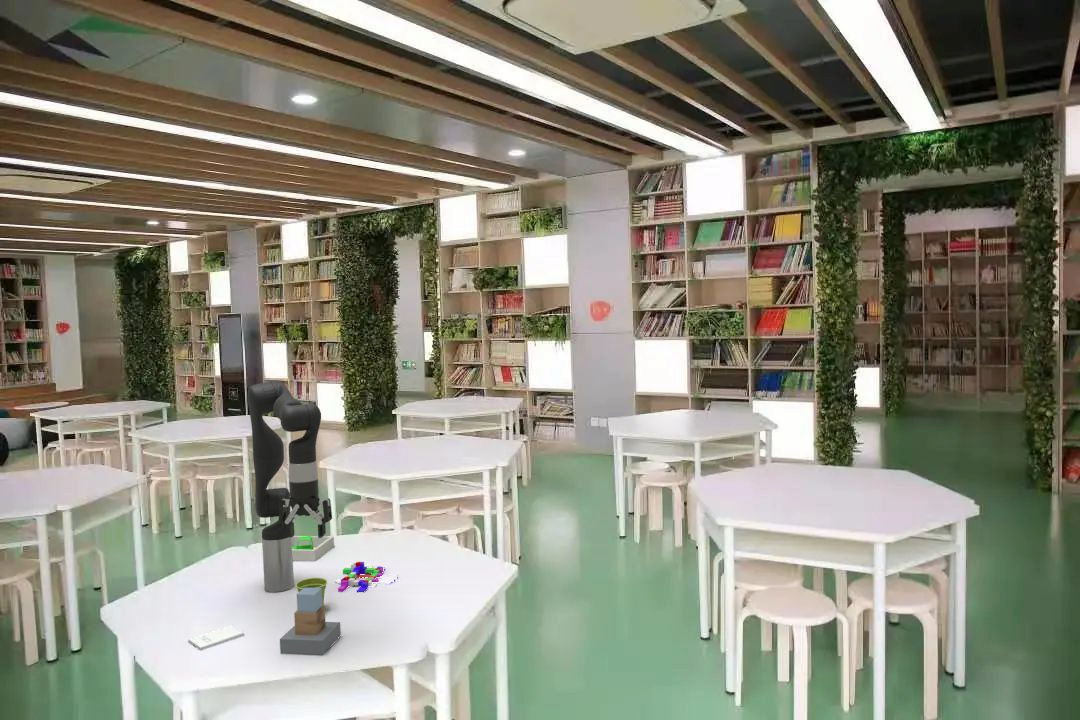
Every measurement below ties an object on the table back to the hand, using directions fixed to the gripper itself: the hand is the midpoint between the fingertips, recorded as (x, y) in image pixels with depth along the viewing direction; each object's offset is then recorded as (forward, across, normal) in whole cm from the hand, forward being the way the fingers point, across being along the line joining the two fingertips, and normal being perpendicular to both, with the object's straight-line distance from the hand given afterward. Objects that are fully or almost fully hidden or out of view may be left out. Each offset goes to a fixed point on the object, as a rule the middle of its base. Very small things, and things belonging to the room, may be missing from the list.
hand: (306, 536), depth 209 cm
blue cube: (+20, 0, 0) cm, 20 cm away
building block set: (+31, +3, -51) cm, 60 cm away
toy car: (+31, +39, -74) cm, 89 cm away
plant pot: (+30, +10, -23) cm, 39 cm away
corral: (+30, +38, -76) cm, 90 cm away
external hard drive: (+31, +29, -1) cm, 42 cm away
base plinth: (+30, 0, 0) cm, 30 cm away
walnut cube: (+26, 0, 0) cm, 26 cm away
